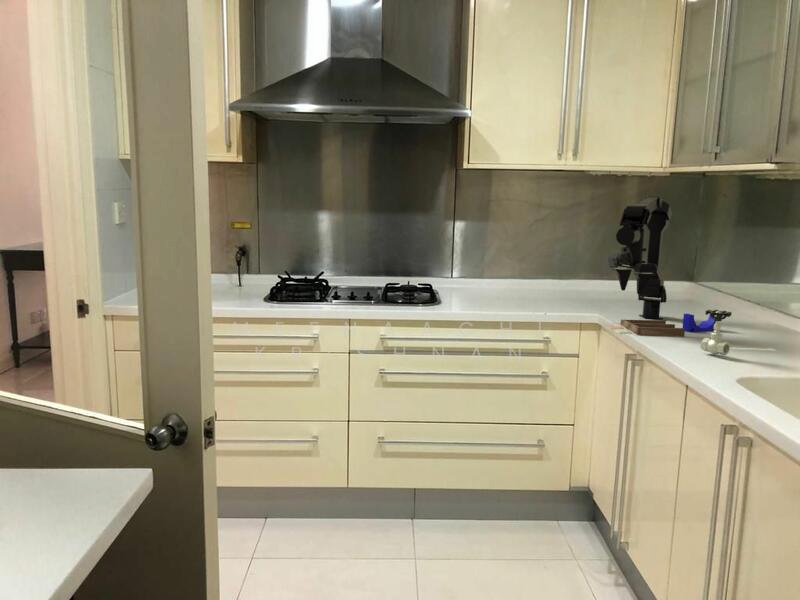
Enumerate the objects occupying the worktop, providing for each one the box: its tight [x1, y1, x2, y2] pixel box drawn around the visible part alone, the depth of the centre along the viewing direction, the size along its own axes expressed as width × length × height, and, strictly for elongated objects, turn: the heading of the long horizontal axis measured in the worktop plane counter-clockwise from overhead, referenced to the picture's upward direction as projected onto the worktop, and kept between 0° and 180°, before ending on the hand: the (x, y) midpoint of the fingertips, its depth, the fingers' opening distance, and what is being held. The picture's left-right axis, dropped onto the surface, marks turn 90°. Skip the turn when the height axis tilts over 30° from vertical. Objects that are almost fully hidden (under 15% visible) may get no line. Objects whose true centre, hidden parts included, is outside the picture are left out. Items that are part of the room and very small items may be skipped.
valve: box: [700, 309, 732, 356], centre depth 181 cm, size 7×7×12 cm
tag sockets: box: [608, 319, 686, 337], centre depth 213 cm, size 15×20×2 cm
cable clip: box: [682, 313, 716, 333], centre depth 216 cm, size 12×4×6 cm, turn 107°
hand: (630, 292), depth 213 cm, fingers open, 9 cm apart
